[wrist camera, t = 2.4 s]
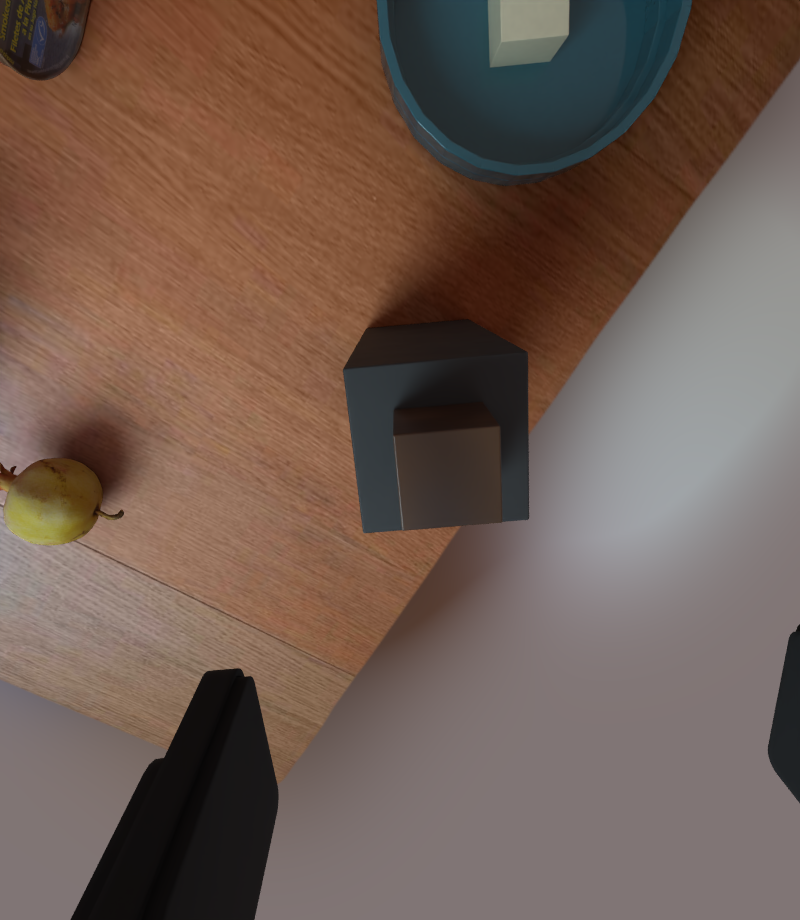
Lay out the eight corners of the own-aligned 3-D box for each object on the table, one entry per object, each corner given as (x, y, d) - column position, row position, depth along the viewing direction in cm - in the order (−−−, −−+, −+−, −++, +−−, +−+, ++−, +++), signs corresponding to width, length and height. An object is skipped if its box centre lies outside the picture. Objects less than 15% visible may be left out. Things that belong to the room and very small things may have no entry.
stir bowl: (668, -169, 31) (711, -240, 27) (647, 173, 37) (680, 159, 33) (364, -136, 31) (360, -201, 27) (392, 197, 37) (392, 187, 33)
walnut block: (483, 401, 23) (500, 425, 19) (486, 485, 24) (503, 522, 21) (393, 409, 23) (392, 434, 19) (401, 492, 24) (402, 531, 21)
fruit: (115, 495, 39) (-25, 440, 37) (79, 579, 39) (-61, 528, 37) (147, 481, 45) (30, 434, 44) (116, 552, 46) (-1, 509, 44)
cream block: (550, -14, 33) (570, -51, 29) (550, 61, 34) (569, 35, 31) (487, -7, 33) (499, -44, 29) (489, 67, 34) (501, 41, 31)
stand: (468, 319, 40) (528, 351, 22) (473, 419, 43) (529, 520, 25) (365, 328, 40) (342, 368, 22) (376, 427, 43) (363, 534, 25)
